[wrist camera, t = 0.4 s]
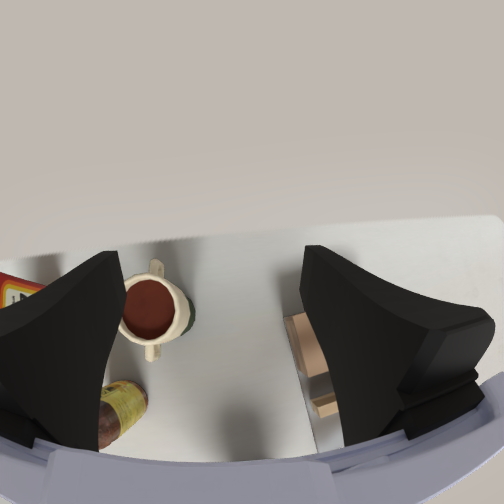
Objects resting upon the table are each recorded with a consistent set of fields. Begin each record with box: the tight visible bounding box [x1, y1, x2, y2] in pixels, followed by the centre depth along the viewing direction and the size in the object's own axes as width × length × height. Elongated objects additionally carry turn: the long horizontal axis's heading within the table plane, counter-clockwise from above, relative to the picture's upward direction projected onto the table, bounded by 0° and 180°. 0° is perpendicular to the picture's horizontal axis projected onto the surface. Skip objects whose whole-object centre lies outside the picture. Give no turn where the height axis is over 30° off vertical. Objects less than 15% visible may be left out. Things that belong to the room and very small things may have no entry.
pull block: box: [310, 392, 339, 418], centre depth 34 cm, size 12×10×4 cm
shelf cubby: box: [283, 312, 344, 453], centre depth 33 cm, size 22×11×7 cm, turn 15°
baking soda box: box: [0, 272, 46, 309], centre depth 28 cm, size 10×6×16 cm
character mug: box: [118, 258, 195, 362], centre depth 31 cm, size 11×7×13 cm, turn 179°
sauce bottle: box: [98, 380, 148, 450], centre depth 25 cm, size 6×6×20 cm
